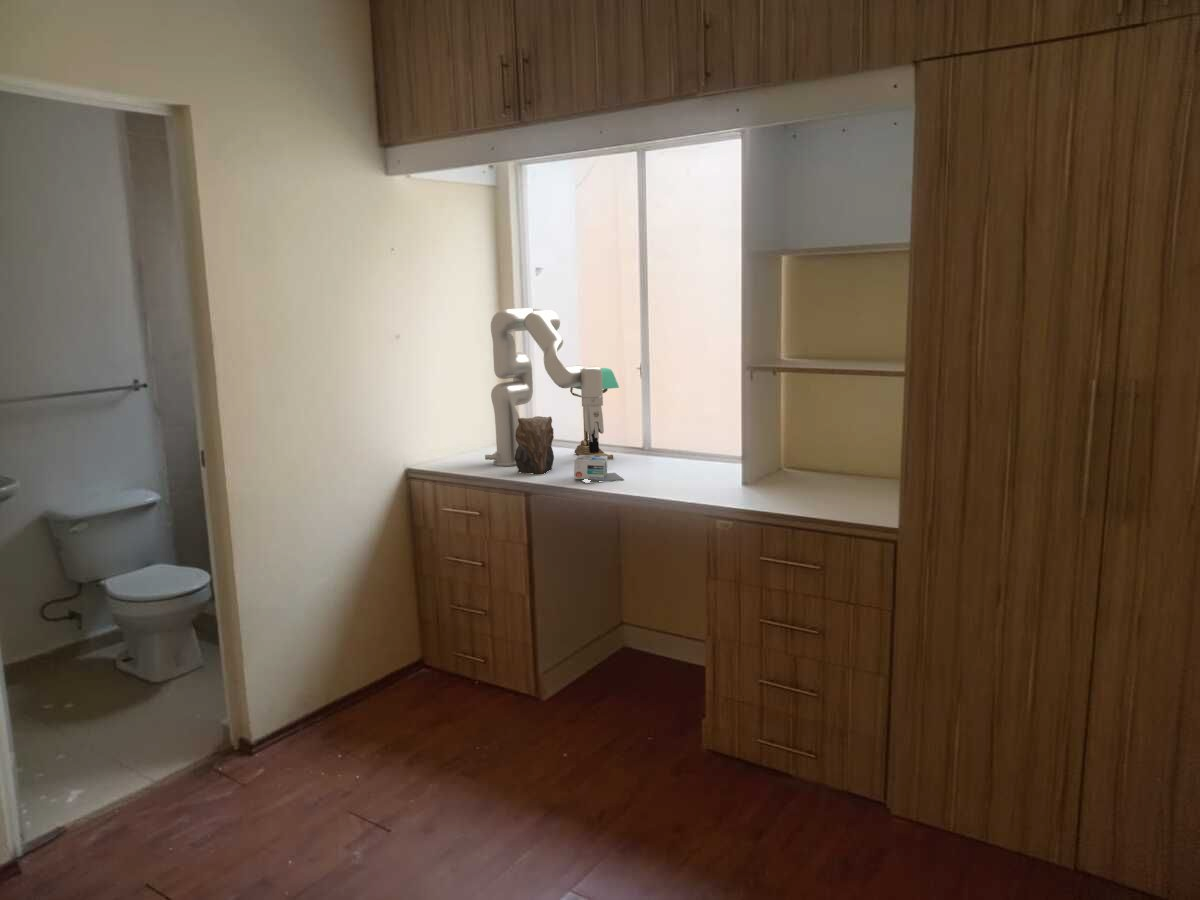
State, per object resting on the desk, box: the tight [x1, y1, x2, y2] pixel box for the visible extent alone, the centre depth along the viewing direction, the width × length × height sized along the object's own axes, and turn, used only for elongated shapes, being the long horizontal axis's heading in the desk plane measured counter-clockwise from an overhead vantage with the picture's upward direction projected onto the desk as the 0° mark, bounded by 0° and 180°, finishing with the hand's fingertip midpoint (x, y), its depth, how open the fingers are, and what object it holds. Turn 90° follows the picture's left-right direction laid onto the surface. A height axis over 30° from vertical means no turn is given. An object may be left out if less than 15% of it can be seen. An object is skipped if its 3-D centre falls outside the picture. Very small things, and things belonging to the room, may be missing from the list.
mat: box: [580, 472, 625, 483], centre depth 305 cm, size 14×12×1 cm
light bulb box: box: [573, 455, 609, 480], centre depth 305 cm, size 11×7×11 cm
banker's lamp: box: [569, 367, 620, 460], centre depth 343 cm, size 16×21×35 cm
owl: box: [514, 415, 555, 475], centre depth 321 cm, size 13×13×20 cm
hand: (594, 452), depth 311 cm, fingers closed
